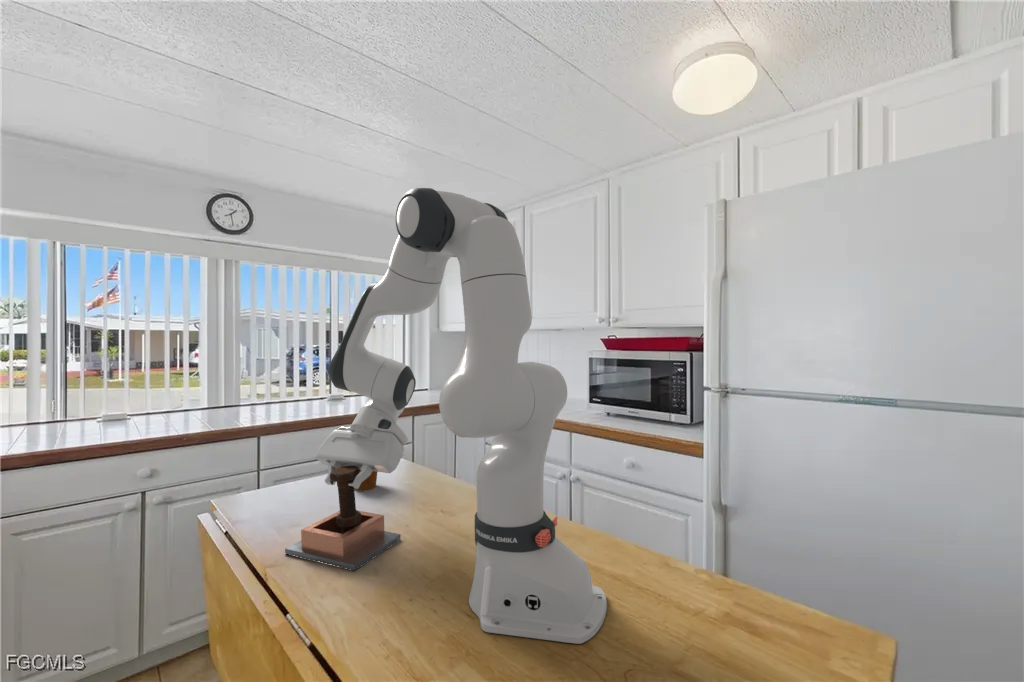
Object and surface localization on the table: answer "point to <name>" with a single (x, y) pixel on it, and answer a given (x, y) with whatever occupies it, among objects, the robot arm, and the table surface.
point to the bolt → (346, 497)
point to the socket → (344, 541)
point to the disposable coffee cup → (368, 482)
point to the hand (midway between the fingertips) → (340, 485)
